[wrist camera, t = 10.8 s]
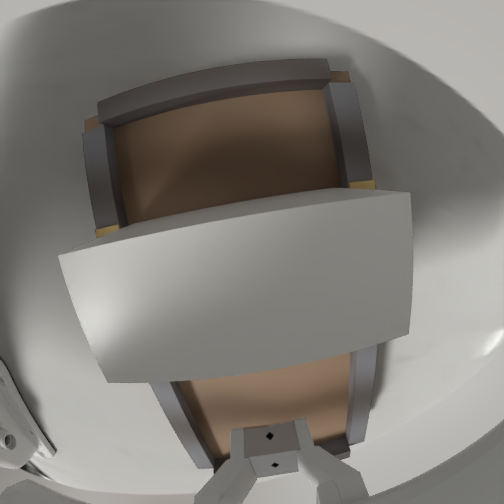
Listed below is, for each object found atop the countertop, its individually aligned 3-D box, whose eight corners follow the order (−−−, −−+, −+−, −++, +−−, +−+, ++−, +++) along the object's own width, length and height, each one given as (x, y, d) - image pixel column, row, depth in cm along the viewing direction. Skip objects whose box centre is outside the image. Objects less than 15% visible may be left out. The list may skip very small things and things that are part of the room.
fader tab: (341, 272, 13) (408, 334, 7) (156, 304, 12) (107, 382, 7) (333, 187, 12) (410, 192, 6) (135, 223, 12) (57, 255, 6)
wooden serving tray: (359, 419, 18) (373, 449, 15) (200, 446, 18) (196, 479, 15) (340, 84, 12) (365, 60, 9) (102, 127, 12) (68, 115, 9)
